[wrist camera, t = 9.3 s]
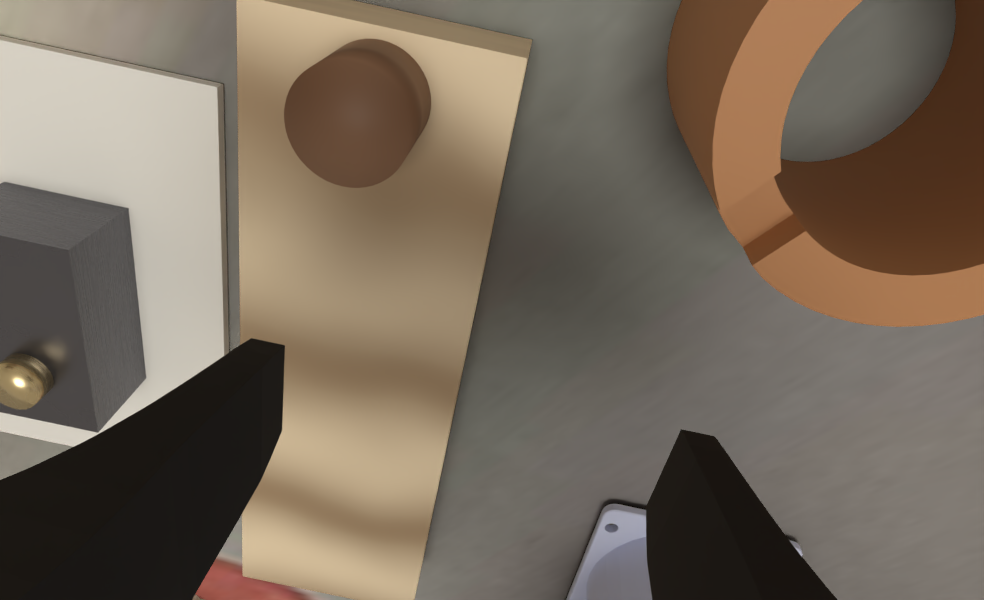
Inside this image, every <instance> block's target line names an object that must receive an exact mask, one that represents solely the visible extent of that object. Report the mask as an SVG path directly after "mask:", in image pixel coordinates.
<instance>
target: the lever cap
mask: <svg viewBox="0 0 984 600" xmlns="http://www.w3.org/2000/svg"><path fill="white" fill-rule="evenodd" d="M145 379H146V370H145V360H144V351H143V341H142V332H141V322H140V313H139V303H138V294H137V284H136V275H135V265H134V256H133V246H132V237H131V227H130V218H129V208H125V207H121V206H116V205H111V204H107V203H102V202H97V201H93V200H88V199H83V198H79V197H74V196H69V195H65V194H60V193H55V192H51V191H46V190H41V189H37V188H32V187H27V186H23V185H18V184H13V183H9V182H3V183H1V184H0V412H2V413H6V414H11V415H16V416H21V417H25V418H30V419H35V420H40V421H44V422H49V423H54V424H59V425H64V426H68V427H73V428H78V429H83V430H87V431H92V432H97V433H98V432H99V431H100V430H101V429H102V428H103V427H104V426H105V424H106V423H107V422H108V421H109V420H110V419H111V418H112V416H113V415H114V414H115V413H116V412H117V411H118V410H119V409H120V407H121V406H122V405H123V404H124V403H125V402H126V401H127V400H128V398H129V397H130V396H131V395H132V394H133V393H134V392H135V390H136V389H137V388H138V387H139V386H140V385H141V384H142V383H143V381H144V380H145Z"/></svg>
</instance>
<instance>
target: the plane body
mask: <svg viewBox="0 0 984 600" xmlns="http://www.w3.org/2000/svg"><path fill="white" fill-rule="evenodd" d="M531 44H532V40H531V39H527V38H522V37H517V36H513V35H508V34H504V33H499V32H495V31H490V30H486V29H481V28H477V27H472V26H468V25H463V24H458V23H454V22H449V21H445V20H440V19H436V18H431V17H427V16H422V15H418V14H413V13H408V12H404V11H399V10H395V9H390V8H386V7H381V6H377V5H372V4H368V3H363V2H358V1H354V0H237V81H238V176H239V271H240V345H241V344H243V343H244V342H246V341H247V340H249V339H251V338H253V339H258V340H263V341H267V342H272V343H277V344H282V345H285V360H284V390H283V421H282V432H281V435H280V437H279V439H278V442H277V444H276V447H275V449H274V452H273V454H272V456H271V459H270V461H269V463H268V466H267V468H266V470H265V472H264V475H263V477H262V479H261V481H260V483H259V485H258V487H257V488H256V490H255V492H254V494H253V495H252V497H251V499H250V501H249V502H248V504H247V506H246V507H245V509H244V511H243V513H242V555H243V576H244V577H249V578H254V579H259V580H264V581H269V582H273V583H278V584H283V585H288V586H293V587H297V588H302V589H307V590H312V591H317V592H322V593H326V594H331V595H336V596H341V597H346V598H351V599H355V600H414V599H415V595H416V590H417V586H418V581H419V577H420V572H421V568H422V563H423V559H424V554H425V549H426V544H427V539H428V535H429V530H430V525H431V520H432V516H433V511H434V506H435V501H436V497H437V492H438V487H439V482H440V478H441V473H442V468H443V463H444V458H445V454H446V449H447V444H448V439H449V435H450V430H451V425H452V420H453V416H454V411H455V406H456V401H457V397H458V392H459V387H460V382H461V378H462V373H463V368H464V363H465V358H466V354H467V349H468V344H469V339H470V335H471V330H472V325H473V320H474V316H475V311H476V306H477V301H478V297H479V292H480V287H481V282H482V277H483V273H484V268H485V263H486V258H487V254H488V249H489V244H490V239H491V235H492V230H493V225H494V220H495V216H496V211H497V206H498V201H499V197H500V192H501V187H502V182H503V177H504V173H505V168H506V163H507V158H508V154H509V149H510V144H511V139H512V135H513V130H514V125H515V120H516V116H517V111H518V106H519V101H520V97H521V92H522V87H523V82H524V77H525V73H526V68H527V63H528V58H529V54H530V49H531Z"/></svg>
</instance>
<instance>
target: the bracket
mask: <svg viewBox="0 0 984 600" xmlns="http://www.w3.org/2000/svg"><path fill="white" fill-rule="evenodd" d="M861 1H862V0H682V1H681V4H680V6H679V9H678V11H677V14H676V17H675V21H674V24H673V28H672V31H671V37H670V42H669V47H668V58H667V85H668V92H669V99H670V103H671V107H672V111H673V115H674V118H675V120H676V123H677V125H678V128H679V130H680V132H681V134H682V136H683V139H684V141H685V143H686V145H687V147H688V149H689V151H690V153H691V155H692V157H693V159H694V161H695V163H696V165H697V168H698V170H699V172H700V174H701V176H702V178H703V180H704V182H705V184H706V186H707V188H708V190H709V192H710V194H711V197H712V199H713V201H714V203H715V205H716V207H717V209H718V211H719V213H720V215H721V217H722V219H723V221H724V222H725V224H726V226H727V228H728V230H729V231H730V232H731V233H732V234H733V236H734V237H735V238H736V239H737V240H738V242H739V243H740V244H741V245H742V247H743V248H744V250H745V252H746V254H747V256H748V258H749V260H750V262H751V264H752V266H753V267H754V268H755V270H756V271H757V272H758V273H759V274H760V276H761V277H762V278H763V279H764V280H765V281H767V282H768V283H769V284H770V285H771V286H773V287H774V288H775V289H776V290H778V291H779V292H781V293H782V294H784V295H785V296H787V297H789V298H790V299H792V300H793V301H795V302H797V303H799V304H801V305H803V306H805V307H807V308H809V309H811V310H814V311H816V312H819V313H822V314H825V315H828V316H831V317H834V318H838V319H842V320H846V321H850V322H855V323H862V324H869V325H876V326H896V327H901V326H924V325H933V324H941V323H948V322H953V321H958V320H963V319H968V318H972V317H976V316H980V315H983V314H984V0H955V6H956V24H955V33H954V39H953V44H952V47H951V51H950V54H949V57H948V60H947V62H946V65H945V67H944V69H943V71H942V73H941V75H940V77H939V79H938V81H937V83H936V84H935V86H934V88H933V89H932V91H931V92H930V94H929V95H928V96H927V98H926V99H925V100H924V102H923V103H922V104H921V105H920V107H919V108H918V109H917V110H916V111H915V112H914V113H913V114H912V115H911V116H910V117H909V118H908V119H907V120H906V121H905V122H904V123H903V124H902V125H900V126H899V127H898V128H897V129H895V130H894V131H893V132H892V133H890V134H889V135H887V136H886V137H884V138H883V139H881V140H880V141H878V142H876V143H874V144H872V145H871V146H869V147H867V148H864V149H862V150H860V151H858V152H855V153H852V154H850V155H847V156H844V157H840V158H836V159H832V160H825V161H817V162H796V161H789V160H784V159H780V152H781V138H782V132H783V126H784V121H785V117H786V114H787V110H788V107H789V104H790V101H791V99H792V96H793V94H794V91H795V89H796V86H797V84H798V82H799V80H800V78H801V76H802V74H803V72H804V70H805V69H806V67H807V65H808V64H809V62H810V60H811V59H812V57H813V56H814V54H815V53H816V51H817V50H818V48H819V47H820V46H821V44H822V43H823V42H824V40H825V39H826V38H827V37H828V35H829V34H830V33H831V31H832V30H833V29H834V28H835V27H836V26H837V25H838V24H839V23H840V22H841V21H842V19H843V18H844V17H845V16H846V15H847V14H848V13H849V12H850V11H851V10H853V9H854V8H855V7H856V6H857V5H858V4H859V3H860V2H861Z"/></svg>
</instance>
